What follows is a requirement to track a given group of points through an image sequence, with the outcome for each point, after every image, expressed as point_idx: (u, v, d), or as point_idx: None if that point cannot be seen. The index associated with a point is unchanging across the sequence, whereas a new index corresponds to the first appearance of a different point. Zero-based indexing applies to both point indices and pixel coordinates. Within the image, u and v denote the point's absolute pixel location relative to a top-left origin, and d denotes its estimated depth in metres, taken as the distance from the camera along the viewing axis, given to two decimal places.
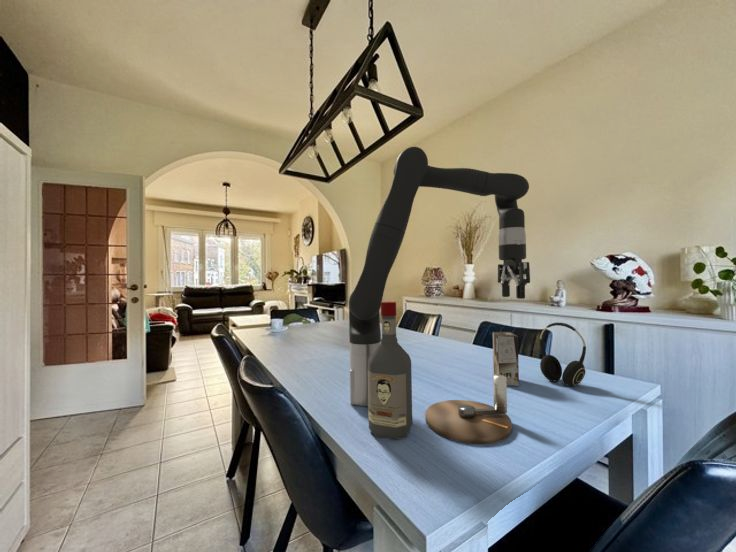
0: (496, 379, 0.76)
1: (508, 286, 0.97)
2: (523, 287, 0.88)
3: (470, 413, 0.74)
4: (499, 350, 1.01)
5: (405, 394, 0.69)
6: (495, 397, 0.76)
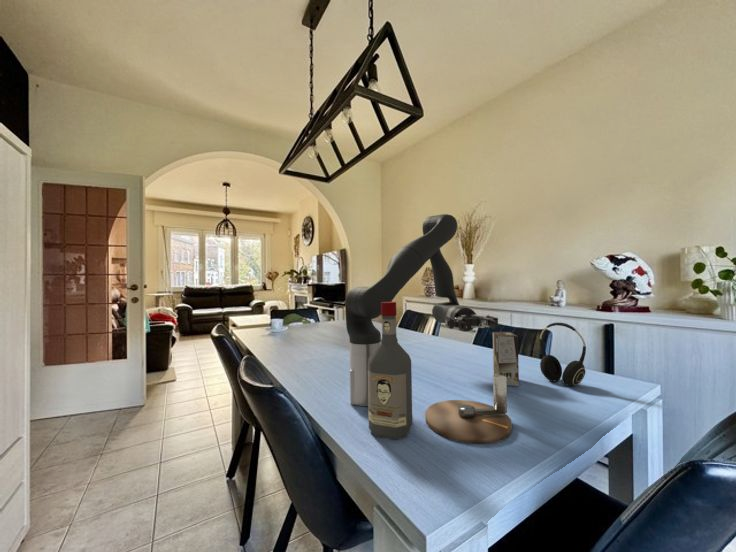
0: (496, 379, 0.76)
1: None
2: None
3: (470, 413, 0.74)
4: (499, 350, 1.01)
5: (405, 394, 0.69)
6: (495, 397, 0.76)
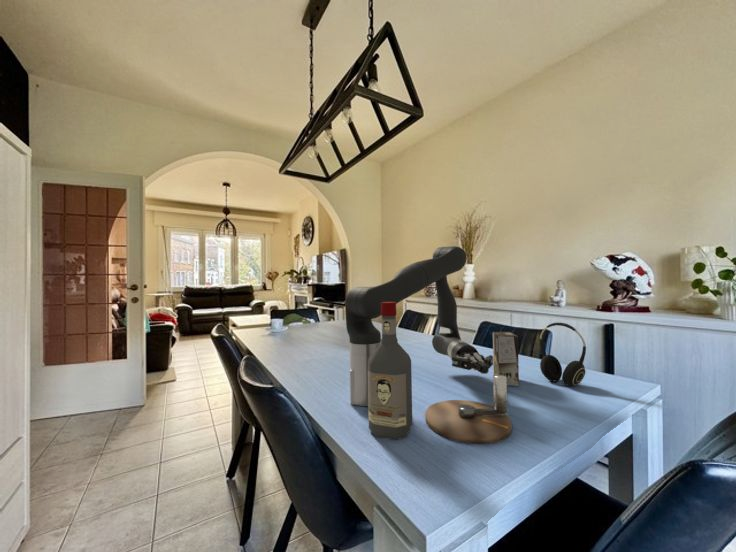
0: (496, 379, 0.76)
1: None
2: None
3: (470, 413, 0.74)
4: (499, 350, 1.01)
5: (405, 394, 0.69)
6: (495, 397, 0.76)
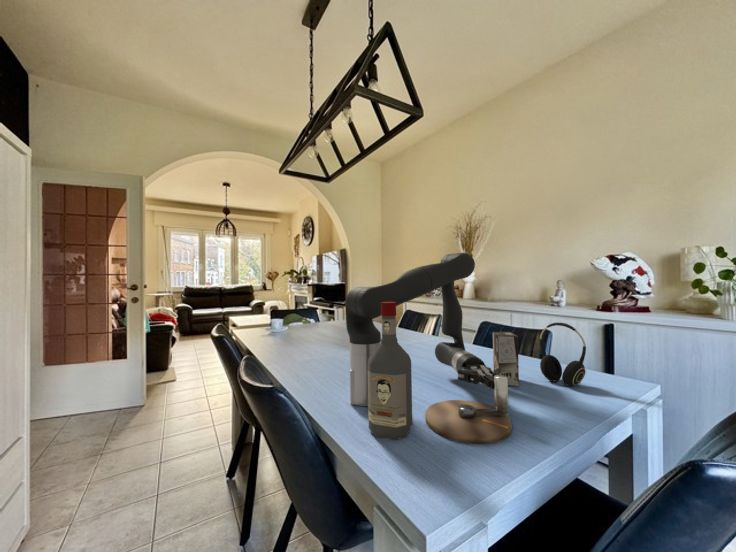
0: (497, 380, 0.75)
1: None
2: None
3: (469, 413, 0.74)
4: (499, 350, 1.01)
5: (405, 394, 0.69)
6: (496, 398, 0.75)
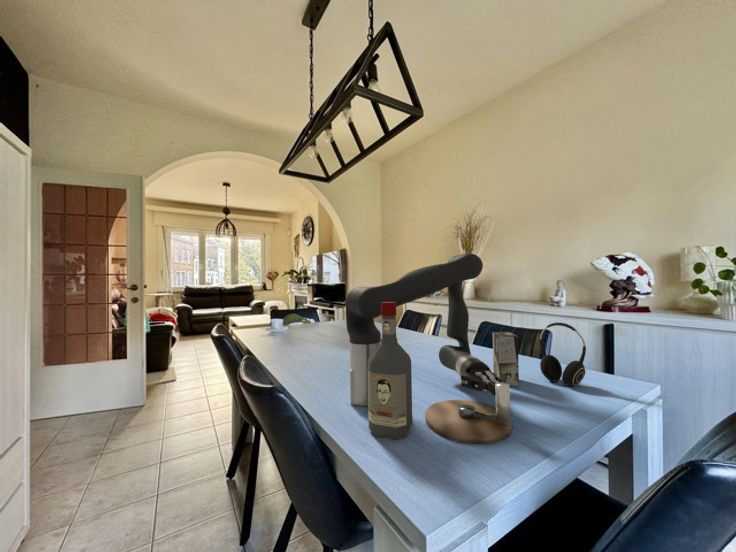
0: (495, 386, 0.71)
1: None
2: None
3: (464, 413, 0.74)
4: (499, 350, 1.01)
5: (405, 394, 0.69)
6: None
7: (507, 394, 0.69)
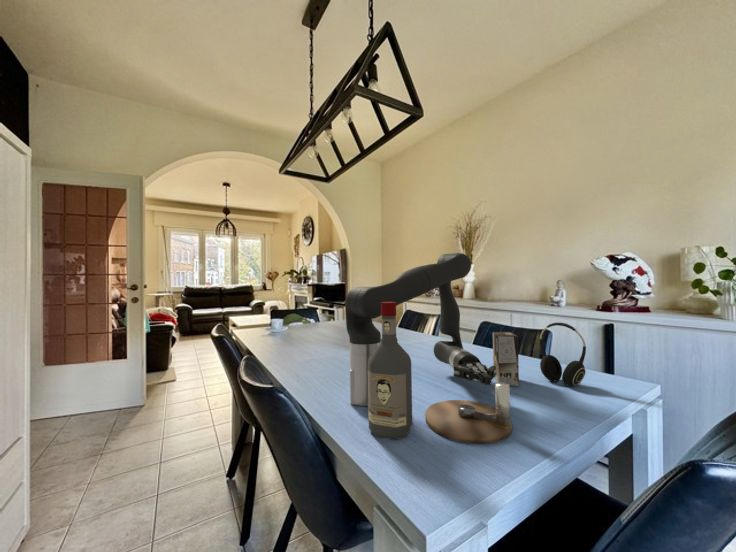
0: (495, 386, 0.71)
1: None
2: None
3: (464, 413, 0.74)
4: (499, 350, 1.01)
5: (405, 394, 0.69)
6: None
7: (507, 394, 0.69)
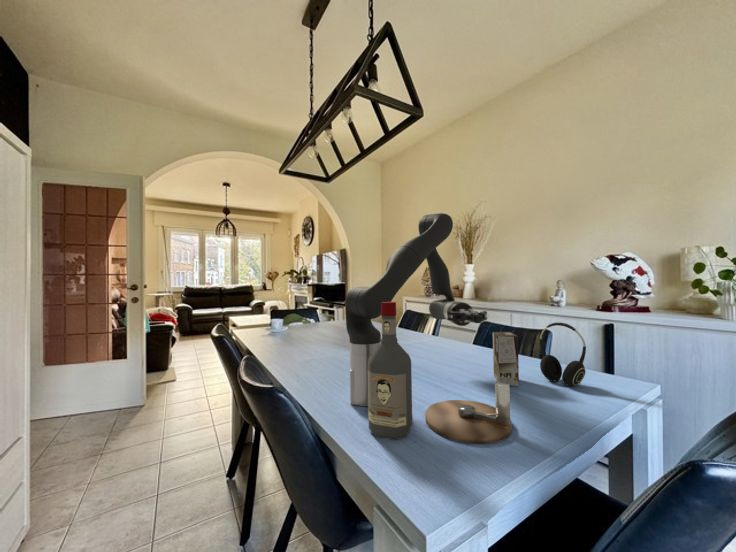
0: (495, 386, 0.71)
1: None
2: None
3: (464, 413, 0.74)
4: (499, 350, 1.01)
5: (405, 394, 0.69)
6: None
7: (507, 394, 0.69)
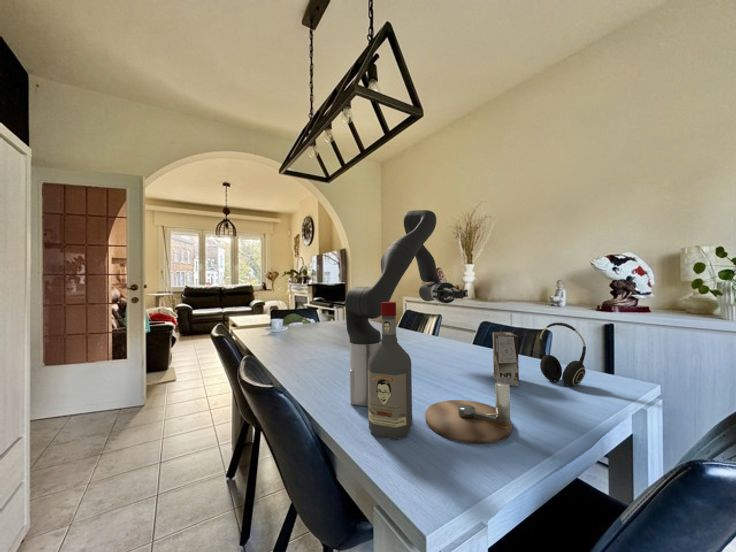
0: (495, 386, 0.71)
1: None
2: None
3: (464, 413, 0.74)
4: (499, 350, 1.01)
5: (405, 394, 0.69)
6: None
7: (507, 394, 0.69)
